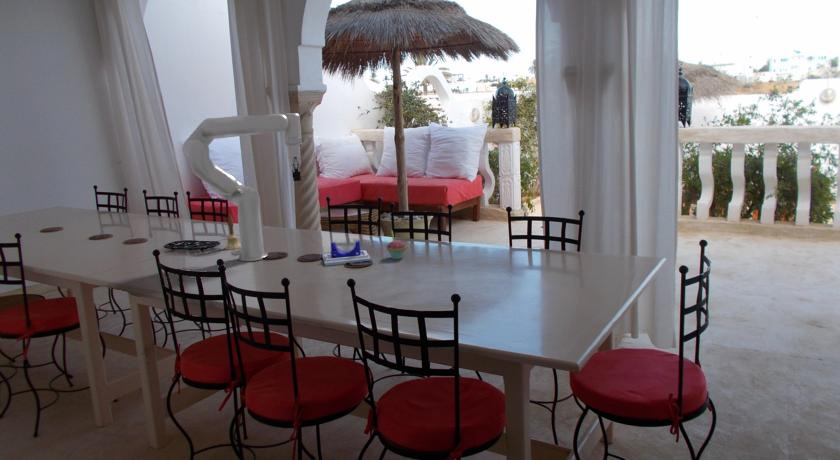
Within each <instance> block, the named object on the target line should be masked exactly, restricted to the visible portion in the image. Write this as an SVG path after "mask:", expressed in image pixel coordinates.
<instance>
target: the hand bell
mask: <svg viewBox="0 0 840 460" xmlns="http://www.w3.org/2000/svg"><path fill="white" fill-rule="evenodd" d="M227 225H228V229H229V236H228V237H227V243H226V245H225V246H224V249H225V250H228V251H235V250H240V249H241V242H239V239H238V236H237V235H235V232H234V218H233V217H232V215H231V214H228V215H227Z"/></svg>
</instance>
